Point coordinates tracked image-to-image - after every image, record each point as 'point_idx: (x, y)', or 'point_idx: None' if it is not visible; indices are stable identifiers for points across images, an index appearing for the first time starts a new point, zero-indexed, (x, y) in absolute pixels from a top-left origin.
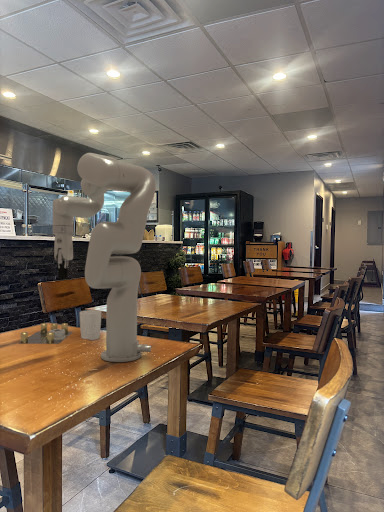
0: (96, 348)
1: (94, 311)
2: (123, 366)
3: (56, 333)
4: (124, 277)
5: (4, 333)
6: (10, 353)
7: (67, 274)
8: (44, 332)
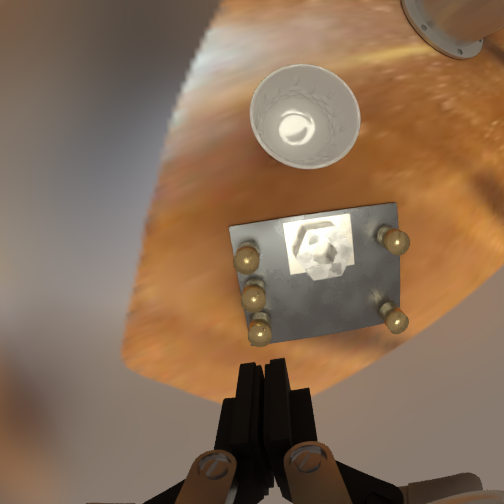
0: (402, 80)
1: (253, 113)
2: None
3: (348, 242)
4: None
5: None
6: (459, 290)
7: (251, 388)
8: (269, 316)
